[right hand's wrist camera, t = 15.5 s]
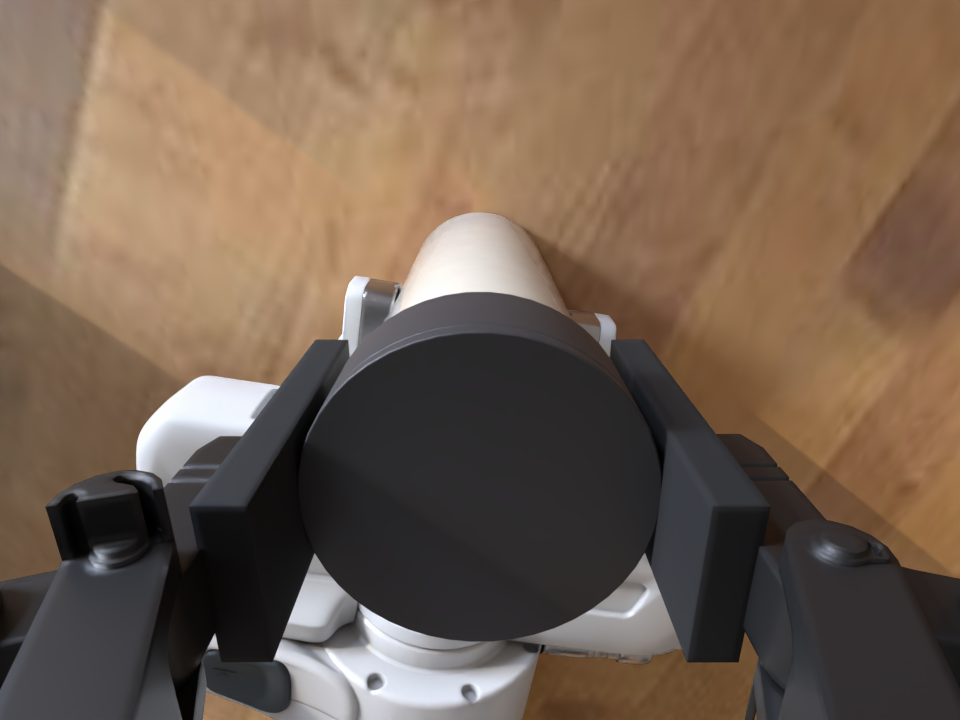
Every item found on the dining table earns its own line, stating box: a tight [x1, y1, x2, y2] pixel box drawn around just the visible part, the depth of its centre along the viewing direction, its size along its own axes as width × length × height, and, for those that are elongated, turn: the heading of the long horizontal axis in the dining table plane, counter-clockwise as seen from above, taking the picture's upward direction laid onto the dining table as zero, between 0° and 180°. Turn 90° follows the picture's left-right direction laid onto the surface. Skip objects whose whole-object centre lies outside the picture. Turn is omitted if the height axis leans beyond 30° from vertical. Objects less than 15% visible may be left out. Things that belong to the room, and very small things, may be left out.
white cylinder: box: [388, 213, 572, 319], centre depth 18 cm, size 5×5×16 cm
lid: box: [297, 292, 662, 642], centre depth 11 cm, size 6×6×2 cm
